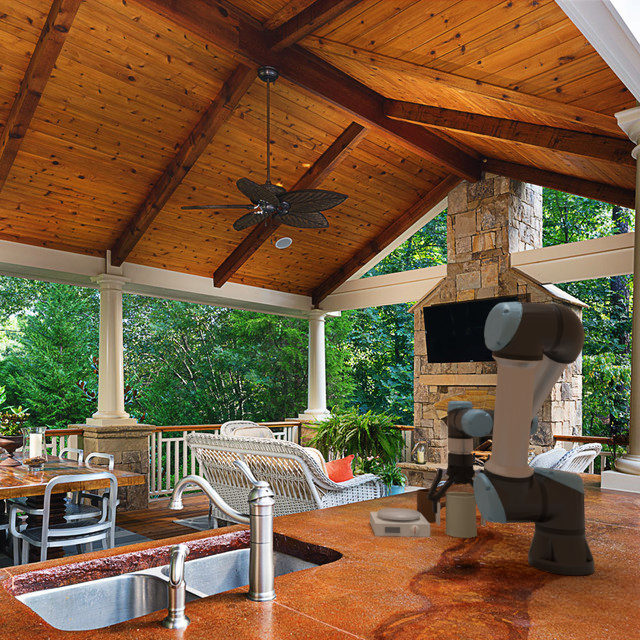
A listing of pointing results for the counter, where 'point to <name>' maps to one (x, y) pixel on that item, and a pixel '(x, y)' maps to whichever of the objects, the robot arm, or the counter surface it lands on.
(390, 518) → the scale
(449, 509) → the can
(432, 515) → the mug
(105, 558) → the counter surface
